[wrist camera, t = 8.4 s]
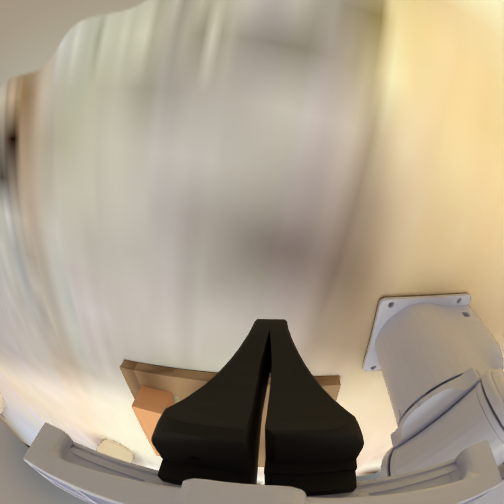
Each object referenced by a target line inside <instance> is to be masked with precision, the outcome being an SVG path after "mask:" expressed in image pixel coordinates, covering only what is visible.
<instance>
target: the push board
mask: <svg viewBox="0 0 504 504" xmlns="http://www.w3.org/2000/svg"><path fill="white" fill-rule="evenodd" d="M120 369H121V371H122V374H123V376H124V378H125V380H126V382H127V384H128V386H129V389H130V391H131V393H132V395H133V397H134V399H135V398H136V396H137V394H138V392H139V390H140V388H141V386H144V387H148V388H152V389H157V390H161V391H166V392H171V393H172V395H173V399H174V403H177V402H179V401H181V400H183V399H185V398H186V397H188V396H189V395H191V394H192V393H194V392H195V391H196V390H198V389H199V388H201V387H202V386H203V385H205V384H206V383H207V382H208V381H209V380H211V379H212V378H213V377H214V376H215V375H216V374H217V373H211V372H202V371H193V370H184V369H177V368H169V367H163V366H156V365H150V364H144V363H138V362H133V361H127V360H124V361H123V363H122V364H121V366H120ZM314 378H315V379H316V380H317V382H318V383H319V384H320V385H321V387H322V388H323V389H324V390H325V391H326V392H327V393H328V394H329V395H330V396H331V397H332V398H333V399H334V400H335V401H336V399H337V396H338V392H339V389H340V385H341V384H340V378H339V376H316V377H314ZM270 381H271V377H270V376H269V381H268V387H267V392H266V398H265V403H264V408H263V414H262V423H261V435H260V447H259V459H258V467H265V457H266V456H265V423H266V415H267V408H268V400H269V391H270Z"/></svg>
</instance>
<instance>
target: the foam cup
mask: <svg viewBox="0 0 504 504" xmlns="http://www.w3.org/2000/svg"><path fill="white" fill-rule="evenodd" d="M96 451H98V452H100V453H103V454H106V455H108V456H111V457H114V458H117V459H120V460H123V461H126V462H129V463H132V460H133V456H134V454H133V453H132V452H131V451H130V450H129V449H127V448H126V447H124V446H123V445H121V444H119V443H117V442H114V441H112V440H108V439H105V440H103V442H102V443H101V444H100V445H99V447H98V448H97V450H96Z"/></svg>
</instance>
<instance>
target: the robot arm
mask: <svg viewBox="0 0 504 504" xmlns="http://www.w3.org/2000/svg"><path fill="white" fill-rule="evenodd" d="M458 299H459V300H458ZM457 300H458V301H457ZM470 300H471V296H470V295H469V294H468V293H464V294H449V295H433V296H413V297H387V298H382V299H381V300H380V301H379V304H378V308H377V313H376V317H375V321H374V326H373V330H372V334H371V338H370V341H369V345H368V349H367V352H366V356H365V359H364V363H363V370H364V371H378V370H382V373H383V377H384V380H385V383H386V386H387V390H388V393H389V397H390V400H391V403H392V407H393V411H394V414H395V418H396V422H397V425H398V428H397V430H396V431H395V432H393V433H392V434H391V439H392V444H393V447H392V448H391V449H390V450H389V451H388V452H387V453H386V454H385V456H384V458H383V460H382V465H381V478H379V479H373V480H367V481H360V482H356V473H355V470H356V469H357V462H356V458H357V457H358V455H359V453H360V452H361V450H362V448H363V445H364V440H363V435H362V432H361V429H360V427H359V424H358V422H357V420H356V418H355V417H354V416H353V415H352V414H350V413H349V412H348V411H347V410H345V409H344V408H343V407H342V406H340V405H339V404H338V403H337V402H336V401H335V400H334V399H333V398H332V397H331V396H330V395H329V394H328V393H327V392H326V391H325V390H324V389H323V388H322V387H321V385H320V384H319V383H318V382H317V380H316V379H315V378H314V377H313V375H312V374H311V372H310V371H309V370H308V368H307V367H306V365H305V363H304V362H303V360H302V358H301V357H300V355H299V353H298V351H297V349H296V347H295V345H294V343H293V340H292V338H291V335H290V332H289V329H288V325H287V321H286V320H278V319H257V320H256V321H255V322H254V325H253V327H252V329H251V331H250V332H249V334H248V336H247V337H246V339H245V340H244V342H243V343H242V345H241V346H240V348H239V349H238V351H237V352H236V353H235V354H234V356H233V357H232V358H231V359H230V361H229V362H228V363H227V364H226V365H225V366H224V367H223V368H222V369H221V370H220V371H219V372H218V373H217V374H216V375H215V376H214V377H213V378H212V379H211V380H209V381H208V382H207V383H206V384H205V385H203V386H202V387H201V388H199V389H198V390H196V391H195V392H194V393H192V394H191V395H189V396H188V397H186V398H185V399H183V400H181V401H179V402H177V403H175V404H174V405H172V406H170V407H168V408H166V409H165V410H164V412H163V413H162V415H161V417H160V418H159V420H158V422H157V424H156V427H155V429H154V432H153V435H152V438H151V441H152V444H153V446H154V447H155V449H156V450H157V452H158V453H159V454H160V456H161V457H162V459H163V460H162V463H161V466H160V469H159V471H158V470H154V469H150V468H146V467H143V466H139V465H136V464H132V463H129V462H126V461H123V460H120V459H117V458H114V457H111V456H108V455H106V454H103V453H100V452H98V451H95V450H92V449H90V448H87V447H85V446H83V445H80V444H78V443H76V442H73V440H72V439H71V437H70V436H69V435H68V434H67V433H65V432H64V431H62V430H61V429H59V428H57V427H55V426H52V425H50V424H48V423H45V424H44V425H43V427H42V428H41V430H40V431H39V433H38V435H37V436H36V438H35V440H34V441H33V443H32V445H31V446H30V448H29V450H28V451H27V453H26V455H25V456H24V460H25V461H26V462H27V463H28V464H29V465H30V466H32V467H33V468H34V469H35V470H36V471H38V472H39V473H40V474H41V475H42V476H44V477H45V478H46V479H48V480H49V481H50V482H52V483H53V484H54V485H56V486H58V487H60V488H61V489H63V490H65V491H67V492H69V493H70V494H72V495H74V496H76V497H78V498H80V499H82V500H84V501H85V502H87V503H89V504H504V371H503V357H502V352H501V349H500V346H499V344H498V342H497V341H496V339H495V338H494V337H493V335H492V334H491V333H490V331H489V330H488V329H487V328H486V326H485V325H484V324H483V322H482V321H481V320H480V319H479V317H478V316H477V315H476V314H475V313H474V311H473V310H472V309H471V308H470V306H469V303H470ZM391 302H393V303H392V304H391V305H389V303H391ZM372 366H373V367H372ZM269 376H270V377H271V381H270V391H269V400H268V408H267V415H266V423H265V456H266V457H265V467H264V474H265V485H256V483H257V471H258V459H259V447H260V435H261V423H262V414H263V408H264V403H265V398H266V392H267V387H268V381H269Z"/></svg>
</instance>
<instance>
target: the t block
mask: <svg viewBox="0 0 504 504" xmlns="http://www.w3.org/2000/svg"><path fill="white" fill-rule="evenodd" d="M174 404H175V403H174V399H173V395H172V393H171V392H166V391H161V390H157V389H152V388H148V387H144V386H141V388H140V390H139V392H138V394H137V396H136V398H135V400H134V402H133V404H132V408H133V410H134V412H135V415H136V417H137V419H138V421H139V423H140V425H141V427H142V429H143V431H144V433H145V435H146V437H147V439H148V441H149V443H150V444H151V446H152V448H153V450H154V452H155V454H156V455H157V456H160V454H159V453H158V452H157V450H156V449H155V447H154V446H153V444H152V441H151V438H152V435H153V432H154V429H155V427H156V424H157V422H158V420H159V418H160V417H161V415H162V413H163V412H164V410H165V409H166V408H168V407H170V406H172V405H174Z"/></svg>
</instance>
